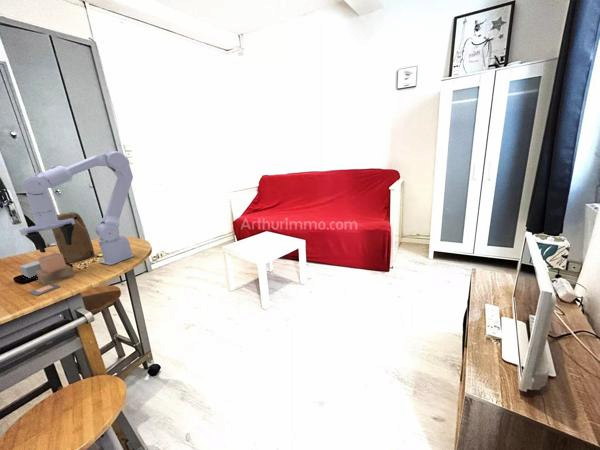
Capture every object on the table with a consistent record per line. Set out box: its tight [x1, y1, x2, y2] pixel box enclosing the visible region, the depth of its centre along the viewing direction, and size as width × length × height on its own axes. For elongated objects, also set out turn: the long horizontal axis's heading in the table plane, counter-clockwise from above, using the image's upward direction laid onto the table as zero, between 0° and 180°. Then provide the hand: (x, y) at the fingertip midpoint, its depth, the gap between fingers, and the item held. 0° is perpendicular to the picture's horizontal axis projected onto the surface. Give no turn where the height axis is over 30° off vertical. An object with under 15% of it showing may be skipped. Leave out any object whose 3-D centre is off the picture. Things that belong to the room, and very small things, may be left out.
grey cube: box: [19, 260, 42, 278], centre depth 97 cm, size 5×5×5 cm
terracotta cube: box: [37, 252, 67, 273], centre depth 93 cm, size 5×5×5 cm
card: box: [28, 283, 61, 297], centre depth 87 cm, size 6×6×1 cm
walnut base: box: [36, 263, 75, 286], centre depth 95 cm, size 8×8×4 cm
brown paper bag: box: [51, 211, 95, 263], centre depth 111 cm, size 11×8×20 cm
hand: (56, 248), depth 95 cm, fingers open, 7 cm apart
